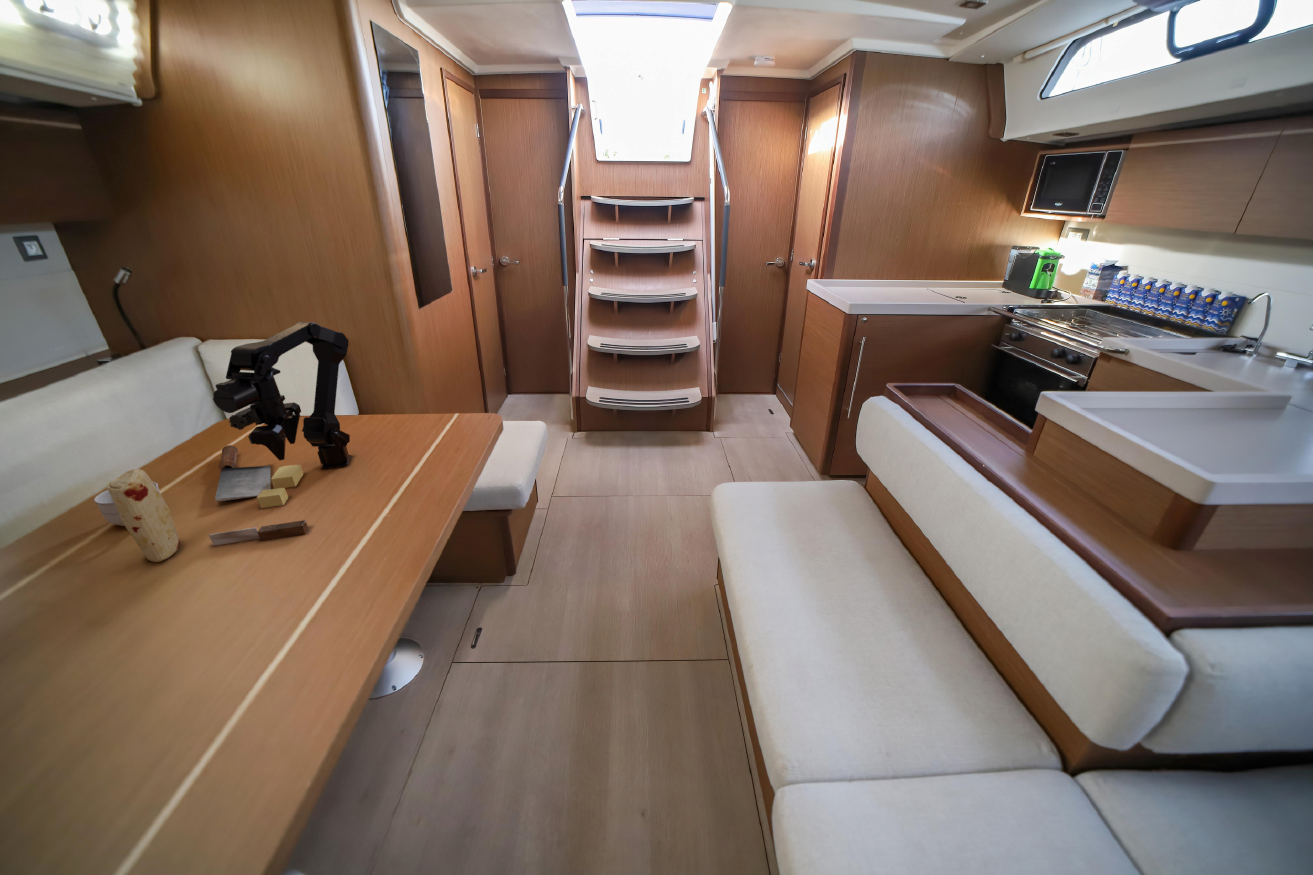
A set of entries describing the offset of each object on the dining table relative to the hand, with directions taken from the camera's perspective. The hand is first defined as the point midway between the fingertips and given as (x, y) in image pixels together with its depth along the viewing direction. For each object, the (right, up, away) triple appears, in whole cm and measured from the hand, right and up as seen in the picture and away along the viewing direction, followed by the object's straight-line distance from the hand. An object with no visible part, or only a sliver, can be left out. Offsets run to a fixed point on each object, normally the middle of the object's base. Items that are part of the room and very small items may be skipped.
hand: (287, 451), depth 130 cm
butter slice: (-2, -13, -2) cm, 13 cm away
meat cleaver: (-20, -7, +11) cm, 24 cm away
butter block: (-5, -9, +8) cm, 13 cm away
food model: (-13, -22, -19) cm, 32 cm away
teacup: (-29, -17, -9) cm, 35 cm away
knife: (+5, -20, -15) cm, 25 cm away
